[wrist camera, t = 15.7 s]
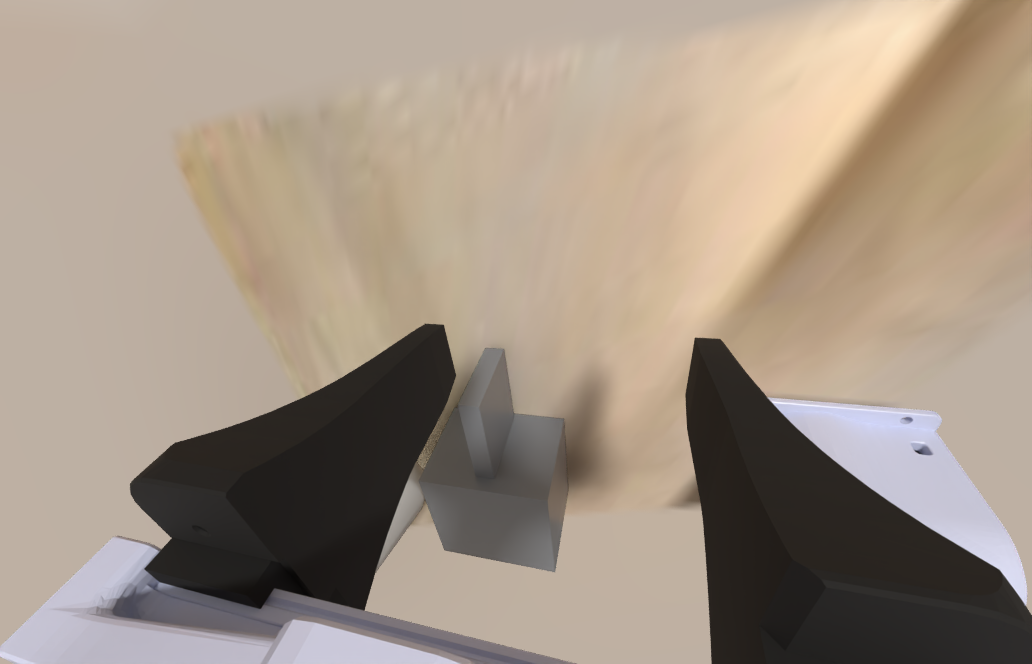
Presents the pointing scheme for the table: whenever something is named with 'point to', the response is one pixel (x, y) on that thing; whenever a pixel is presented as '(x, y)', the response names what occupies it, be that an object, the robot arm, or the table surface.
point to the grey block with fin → (498, 475)
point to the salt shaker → (404, 512)
